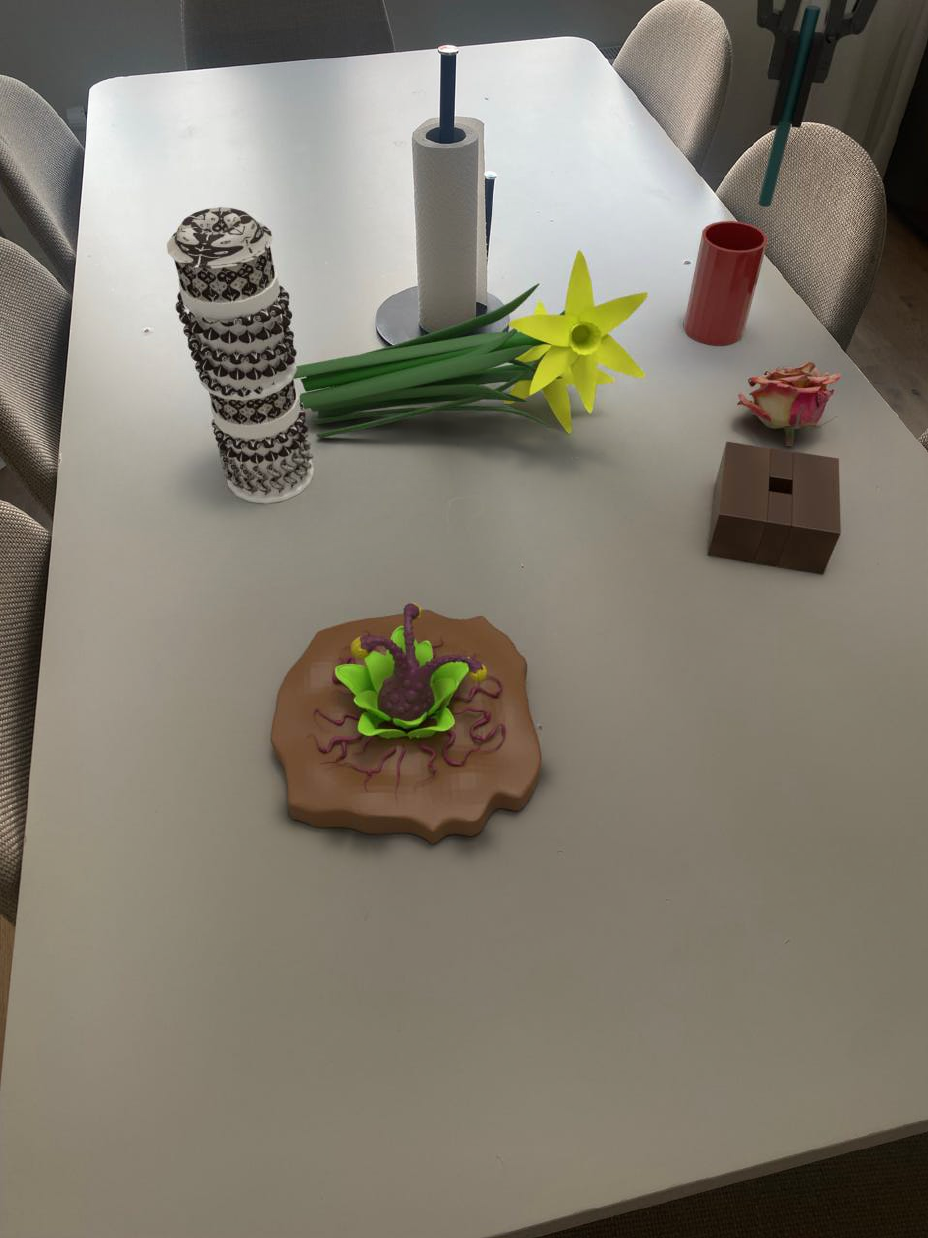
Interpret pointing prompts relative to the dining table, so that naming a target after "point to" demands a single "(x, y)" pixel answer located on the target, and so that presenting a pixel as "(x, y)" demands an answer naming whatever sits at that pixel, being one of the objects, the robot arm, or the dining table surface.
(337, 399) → the daffodil flowers
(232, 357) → the decorative candle
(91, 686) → the dining table surface
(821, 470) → the holder
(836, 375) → the flower
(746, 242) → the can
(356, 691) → the plant
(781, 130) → the straw
